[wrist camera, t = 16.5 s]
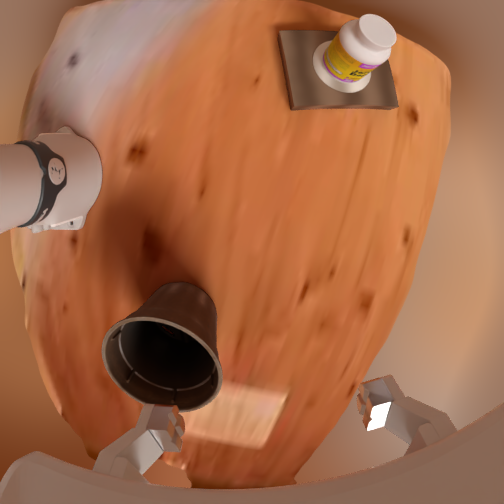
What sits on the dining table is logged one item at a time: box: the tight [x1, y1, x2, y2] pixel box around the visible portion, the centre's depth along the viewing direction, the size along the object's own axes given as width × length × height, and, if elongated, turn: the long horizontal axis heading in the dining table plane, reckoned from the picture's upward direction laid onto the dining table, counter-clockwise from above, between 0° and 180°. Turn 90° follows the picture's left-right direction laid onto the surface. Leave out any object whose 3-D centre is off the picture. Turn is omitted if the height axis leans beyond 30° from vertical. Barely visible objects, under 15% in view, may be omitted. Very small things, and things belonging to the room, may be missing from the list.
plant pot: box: [102, 282, 222, 412], centre depth 38 cm, size 16×16×16 cm
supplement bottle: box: [322, 14, 396, 83], centre depth 25 cm, size 7×7×13 cm
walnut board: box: [278, 30, 399, 110], centre depth 33 cm, size 17×13×3 cm
